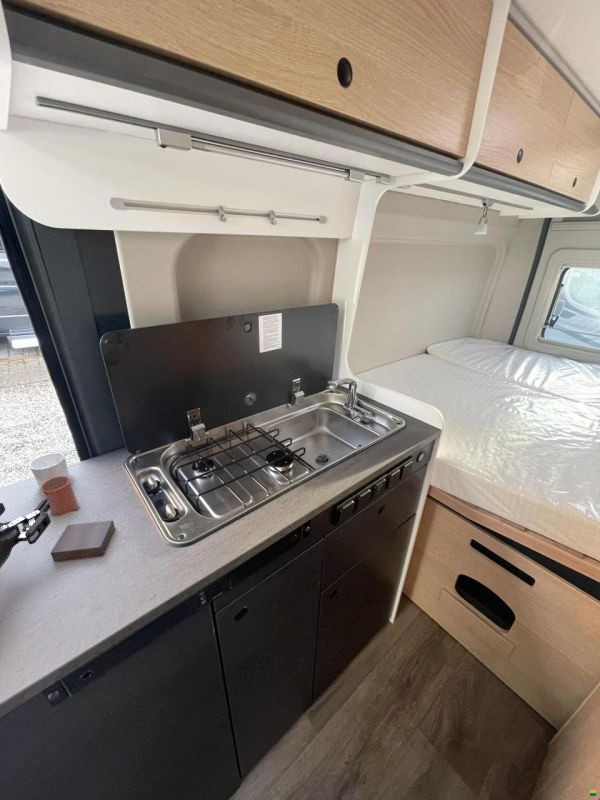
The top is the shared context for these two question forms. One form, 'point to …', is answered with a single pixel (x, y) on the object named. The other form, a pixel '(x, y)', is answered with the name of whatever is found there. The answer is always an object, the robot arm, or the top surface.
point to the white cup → (49, 467)
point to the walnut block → (83, 541)
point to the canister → (60, 495)
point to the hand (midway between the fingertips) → (24, 504)
